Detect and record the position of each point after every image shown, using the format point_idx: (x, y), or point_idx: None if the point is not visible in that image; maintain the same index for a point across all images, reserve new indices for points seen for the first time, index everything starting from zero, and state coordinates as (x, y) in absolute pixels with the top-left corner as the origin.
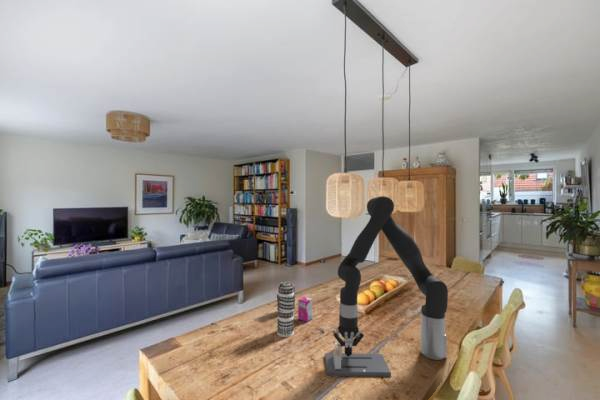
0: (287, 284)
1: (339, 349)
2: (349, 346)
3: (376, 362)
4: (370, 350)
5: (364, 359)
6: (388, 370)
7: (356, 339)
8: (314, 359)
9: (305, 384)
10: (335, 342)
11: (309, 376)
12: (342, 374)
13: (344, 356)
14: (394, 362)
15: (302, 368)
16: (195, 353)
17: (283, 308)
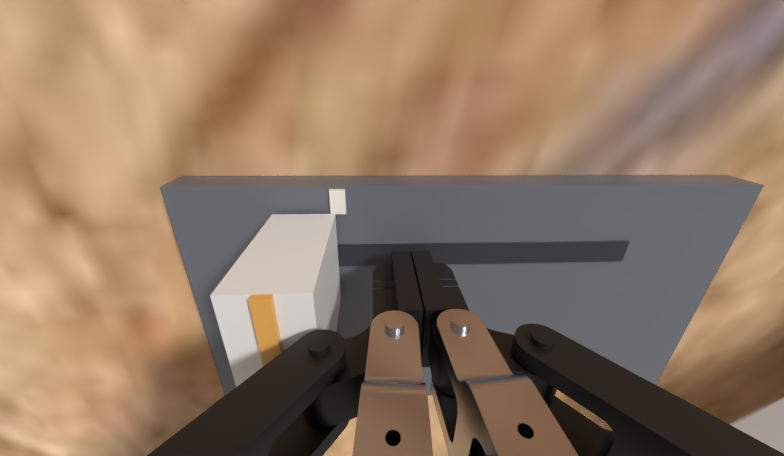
0: None
1: None
2: (433, 386)
3: (626, 302)
4: (707, 39)
5: (548, 272)
6: (652, 372)
7: (605, 396)
8: (85, 218)
9: (115, 439)
10: (221, 304)
11: (116, 390)
12: None
13: (374, 236)
14: (774, 237)
15: (28, 329)
16: None
17: None
